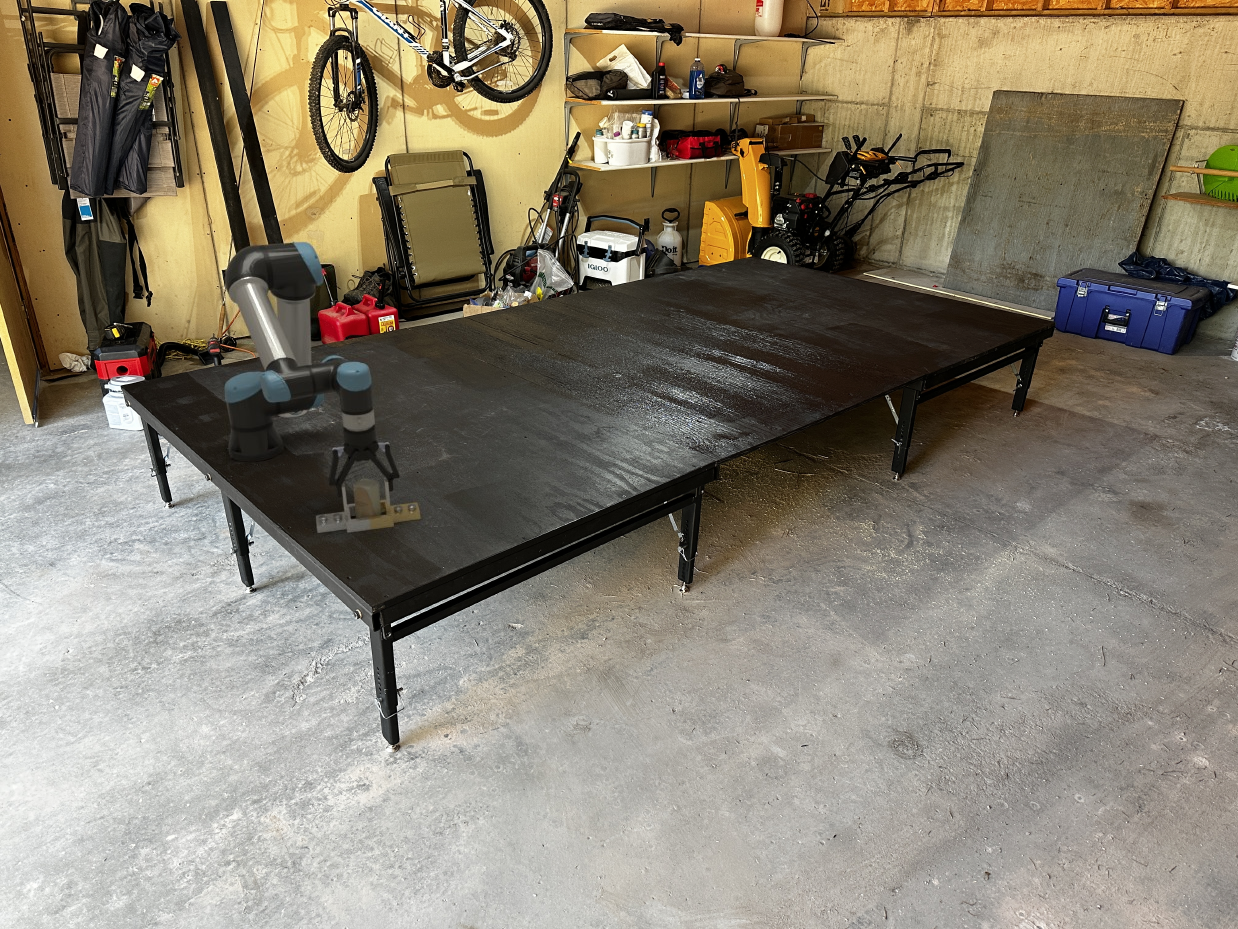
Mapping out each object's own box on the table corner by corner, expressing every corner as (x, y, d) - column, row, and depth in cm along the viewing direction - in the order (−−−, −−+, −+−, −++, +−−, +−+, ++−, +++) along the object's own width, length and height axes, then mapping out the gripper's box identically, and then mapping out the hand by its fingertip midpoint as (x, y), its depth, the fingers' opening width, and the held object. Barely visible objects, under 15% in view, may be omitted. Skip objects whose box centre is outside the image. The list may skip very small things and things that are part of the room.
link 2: (370, 529, 211) (369, 519, 210) (367, 512, 219) (366, 502, 218) (421, 522, 216) (420, 512, 214) (416, 505, 223) (415, 495, 222)
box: (355, 522, 214) (351, 484, 210) (366, 514, 218) (362, 477, 213) (373, 526, 213) (369, 488, 208) (383, 519, 216) (379, 481, 212)
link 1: (317, 536, 207) (316, 526, 206) (316, 518, 215) (315, 508, 214) (370, 529, 211) (369, 519, 210) (367, 512, 219) (366, 502, 218)
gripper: (310, 436, 197) (321, 517, 207) (407, 427, 204) (413, 506, 214) (309, 423, 203) (320, 503, 213) (404, 415, 210) (409, 492, 221)
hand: (367, 504), depth 214 cm, fingers open, 10 cm apart
